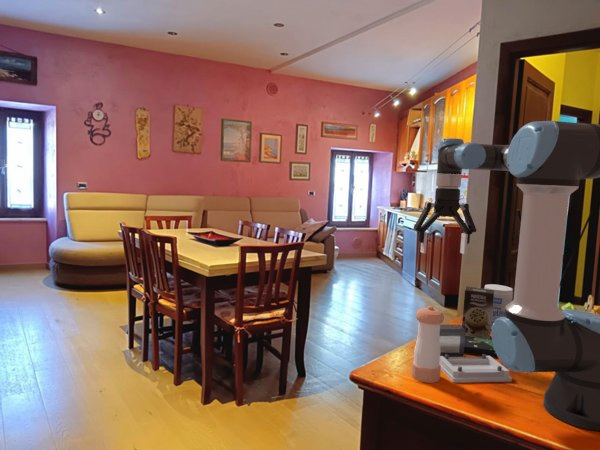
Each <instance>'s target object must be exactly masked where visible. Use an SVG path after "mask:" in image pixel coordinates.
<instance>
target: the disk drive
mask: <svg viewBox="0 0 600 450" xmlns="http://www.w3.org/2000/svg"><path fill="white" fill-rule="evenodd" d="M464 354H466V355H476V356H479V357H482V354H485V355H486V356H491V357H492V358H493V359H495V358H496V359H499V358H498V356H497V354H496V352H495V349H494V346H493V342H492V338H490V339H486V338H478V337H470V336H465V344H464Z"/></svg>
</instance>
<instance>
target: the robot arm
mask: <svg viewBox="0 0 600 450" xmlns="http://www.w3.org/2000/svg"><path fill="white" fill-rule="evenodd" d="M438 144H439V145H438V149H437V154H438V155H437V168H436V181H435V185H436V188H435V192H434V193H435V195H434V199H435V200H434V202H430V201H426V202H425V203H424V208H423V210H422V212H421V213H420V215H419V217H418V219H417V221H416V222H415V224H414V225H413V230H414V231H416V232H418V242H419V243H420V251H419V252H420V253H422V254H427V242H428V241H427V239H428V233H427V232H426V231H427V230H428V229H429V228H430V227H431V226H432V225H433V224H435V223H434V222H436V220H437V219H439V218H441V217H442V218H445V217H449V218H453V219H454V220H455V222H456V223H457V225H458V226H459V227H460V228H461V230H462V231H463V232H462V233H461V237H460V248H459V249H460V250H459V253H460V254H462V255H467V246H468V245H469V244H470V241H471V239H470V238H471V235H472V234H473V233H476V232H477V227H476V224H475V223H474V220H473V216H472V215H471V211H470V204H468V203H465V202H464V203H460V200H461V199H460V197H461V189H460V187H461V186H462V185H461V184H462V174H463V173H462V172H463V170H478V171H479V170H483V171H486V170H487V171H505V172H506V171H507V172H510V174H511V175H512V176H514V177H515V178H517V179H516V186H517V187H518V188H519V189H520V191H522V193H523V198H522V207H521V217H520V218H521V219H520V229H519V238H518V240H519V241H518V251H517V252H518V253H517V260H516V269H515V270H516V271H515V282H514V283H515V284H514V289H513V290H514V291H513V299H512V302H511V303H509V304H508V305H506V307H505V316H504V317H500V318H498V319H496V320H495V322H494V323H493V325H492V330H491V339H492V342H493V346H494V349H495V352H496V354H497V356H498V358H497V359H499V361H500V362H501V365H503V366H504V367H505V368H506V369H508V370H509V371H512V372H515V373H527V374H533V373H554V375H553V378H552V379H551V382H550V383H549V385H548V387H547V390H546V391H545V392H544V395H543V402H542V403H543V404H542V405H543V407H544V409H545V410H546V411H547V412H548V413H549V414H550V415H551V416H553V417H554V418H556V419H558V420H560V421H562V422H563V423H566V424H569V425H572V426H574V427H578V428H581V429H584V430H590V431H596V432H600V315H599V314H597V313H596V314H595V313H594V312H593V313H592V312H590V311H589V312H588V311H584V310H579V309H572V308H564V309H563V310H560V308H559V307H558V306H559V305H558V304H559V297H560V285H561V277H562V276H561V275H562V267H563V259H564V247H565V239H566V232H567V231H566V230H567V221H568V210H569V202H570V196H571V194H572V193H574V192H575V191H577V190H578V189H579V186H580V180H591V179H598V178H600V124H599V123H583V122H571V121H559V120H543V121H542V120H541V121H531V122H529V123H526V124H524V125H523V126H522V127H520V128H519V130H518V131H517V132H516V133H515V134H514V136H513V137H512V139H511V141H510V144H489V143H488V144H487V143H486V144H485V143H477V142H469V141H468V142H467V141H466V142H464V139H463V138H456V137H453V138H450V137H447V138H442V139H440V141H439V143H438ZM433 208H434V212H432V213H431V215H430V217H428V215H429V214H430V212H431V210H432V209H433ZM459 210H461V211H462V215H463V218H464V219H463V218H462V217H461V215H460V213H459ZM427 217H428V219H427Z"/></svg>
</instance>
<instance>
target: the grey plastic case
mask: <svg viewBox="0 0 600 450" xmlns="http://www.w3.org/2000/svg"><path fill="white" fill-rule="evenodd" d="M465 332H466V329H465V328H463V327H462V324H440V335H439V341H440V356H443V357H445V354H448V355H449V357H465V356H464V355H465V353H464V344H465Z"/></svg>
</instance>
